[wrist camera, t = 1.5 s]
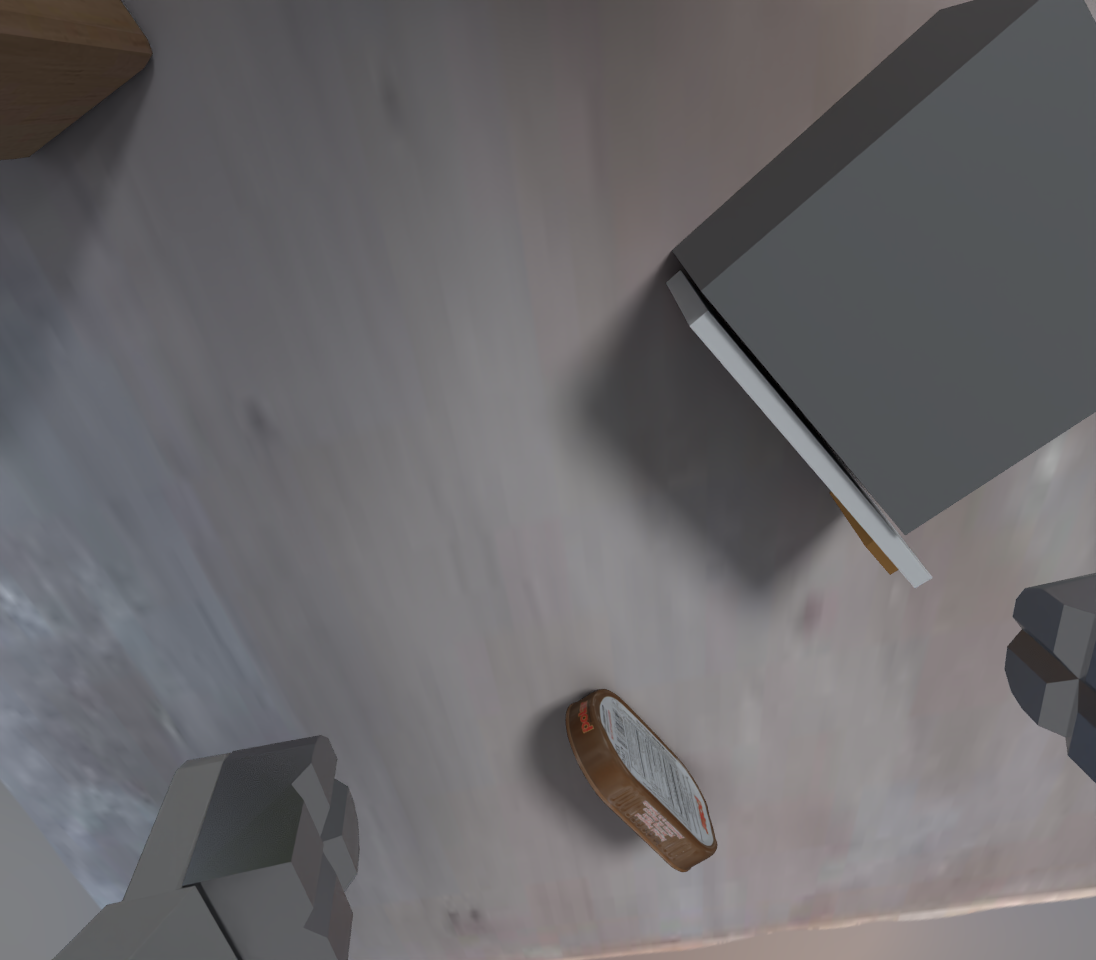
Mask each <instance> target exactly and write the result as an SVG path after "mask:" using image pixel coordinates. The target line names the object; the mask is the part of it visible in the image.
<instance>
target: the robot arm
mask: <svg viewBox="0 0 1096 960" xmlns="http://www.w3.org/2000/svg"><path fill="white" fill-rule="evenodd" d="M1013 618H1014V619H1015V621H1016V622H1017V623H1018V624H1019V626H1020V627H1021V628H1022V630H1021V631H1020V632H1019V633H1018V635H1017V636H1016V637H1015V638H1014V639H1013V640H1012V642H1011V643H1010V644H1009V645H1008V646H1007V653H1006V661H1005V672H1006V676H1007V679H1008V683H1009V686H1010V689H1011V692H1012V694H1013V695H1014V697H1015V698H1016V700H1017V702H1018V703H1019V705H1020V706H1021V708H1022V709H1023V710H1024V711H1025V712H1026V713H1027V714H1028V716H1029V717H1030V718H1031V719H1032V720H1033V721H1034V722H1035V723H1036V724H1037V725H1038V726H1041V727H1043V728H1045V729H1048V730H1050V731H1052V732H1054V733H1057V734H1059V735H1061V736H1064V737H1065V738H1066V746H1067V754H1068V756H1069V757H1070V758H1071V759H1072V760H1073V761H1074V762H1075V763H1076V764H1077V765H1078V766H1079V767H1080V768H1081V769H1082V770H1083V771H1084V772H1085V773H1086V774H1087V775H1088V776H1089V777H1090V778H1091V779H1092V780H1093V781H1094V782H1095V783H1096V573H1093V574H1088V575H1084V576H1079V577H1075V578H1070V579H1065V580H1061V581H1056V582H1052V583H1047V584H1042V585H1038V586H1033V587H1029V588H1025V589H1024V590H1023V591H1022V592H1021V594H1020V595H1019V596H1018V597H1017V599H1016V602H1015V607H1014V612H1013ZM336 764H337V757H336V755H335V752H334V750H333V748H332V745H331V743H330V741H329V739H328V738H327V737H325V736H322V735H319V736H313V737H308V738H302V739H297V740H291V741H286V742H281V743H275V744H270V745H264V746H259V747H253V748H248V749H242V750H237V751H233V752H232V753H227V754H221V755H216V756H210V757H204V758H199V759H193V760H187V761H186V762H185V763H184V764H183V765H182V766H181V767H180V768H179V769H178V770H177V771H176V772H175V774H174V777H173V779H172V781H171V784H170V786H169V789H168V791H167V794H166V796H165V798H164V801H163V803H162V806H161V808H160V811H159V813H158V815H157V818H156V820H155V823H154V825H153V828H152V830H151V833H150V835H149V837H148V840H147V842H146V845H145V847H144V850H143V852H142V854H141V857H140V859H139V862H138V864H137V867H136V869H135V871H134V874H133V876H132V879H131V881H130V884H129V886H128V888H127V891H126V893H125V896H124V898H123V901H121V902H117V903H113V904H109V905H106V906H105V907H104V908H103V909H102V910H101V911H100V913H98V914H97V915H96V916H95V917H94V918H93V919H92V920H91V922H89V923H88V924H87V925H86V927H84V928H83V929H82V930H81V932H79V933H78V934H77V935H76V936H75V937H74V938H73V939H72V940H71V941H70V942H69V943H68V944H67V945H66V946H65V947H64V948H63V949H62V950H61V951H60V952H59V953H58V954H57V955H56V956H55V957H54V958H53V959H52V960H348V953H349V945H350V936H351V927H352V918H353V912H352V910H351V908H350V905H349V903H348V900H347V898H346V896H345V893H344V892H345V890H346V889H347V888H348V886H349V885H350V884H351V882H352V881H353V880H354V878H355V877H356V875H357V872H358V862H359V851H360V848H359V829H358V819H357V814H356V810H355V805H354V801H353V798H352V796H351V793H350V790H349V788H348V786H346V785H344V784H343V783H341V782H339V781H338V780H336V779H334V777H335V771H336Z"/></svg>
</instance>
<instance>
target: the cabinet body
mask: <svg viewBox="0 0 1096 960" xmlns="http://www.w3.org/2000/svg"><path fill="white" fill-rule="evenodd" d="M672 251H673V253H674V254H675V255H676V257H677V258H678V260H679V261H680V262H681V264H682V265H683V267H684V268H685V269H686V271H687V272H688V274H689V275H690V276H691V278H692V279H693V281H694V282H695V283H696V285H697V286H698V288H699V289H700V290H701V292H702V293H703V294H704V295H705V296H706V298H707V299H708V300H709V301H710V302H711V304H712V305H713V306H714V307H715V308H716V310H717V311H718V312H719V313H720V314H721V316H722V317H723V318H724V319H725V320H726V322H727V323H728V324H729V325H730V326H731V328H732V329H733V330H734V331H735V332H736V334H737V335H738V336H739V337H740V338H741V340H742V341H743V342H744V343H745V344H746V346H747V347H748V348H749V349H750V350H751V351H752V353H753V354H754V355H755V356H756V357H757V359H758V360H759V361H760V362H761V363H762V365H763V366H764V367H765V368H766V369H767V371H768V372H769V373H770V374H771V375H772V377H773V378H774V379H775V380H776V381H777V383H778V384H779V385H780V386H781V387H782V389H783V390H784V391H785V392H786V393H787V395H788V396H789V397H790V398H791V399H792V401H793V402H794V403H795V404H796V405H797V407H798V408H799V409H800V410H801V411H802V413H803V414H804V415H805V416H806V417H807V419H808V420H809V421H810V422H811V423H812V424H813V426H814V427H815V428H816V429H817V430H818V432H819V433H820V434H821V435H822V436H823V438H824V439H825V440H826V441H827V442H828V444H829V445H830V446H831V447H832V448H833V450H834V451H835V452H836V453H837V454H838V456H839V457H840V458H841V459H842V460H843V462H844V463H845V464H846V465H847V466H848V468H849V469H850V470H851V471H852V472H853V474H854V475H855V476H856V477H857V478H858V480H859V481H860V482H861V483H862V484H863V486H864V487H865V488H866V489H867V490H868V492H869V493H870V494H871V495H872V496H873V497H874V499H875V500H876V501H877V502H878V503H879V505H880V506H881V507H882V508H883V509H884V511H885V512H886V513H887V514H888V515H889V517H890V518H891V519H892V520H893V521H894V523H895V524H896V525H897V526H898V527H899V529H900V530H901V531H902V532H903V533H904V535H906V534H908V533H909V532H911V531H913V530H914V529H916V528H917V527H919V526H920V525H922V524H923V523H925V522H926V521H928V520H930V519H931V518H933V517H934V516H936V515H937V514H939V513H940V512H942V511H943V510H945V509H946V508H948V507H950V506H951V505H953V504H954V503H956V502H957V501H959V500H960V499H962V498H963V497H965V496H967V495H968V494H970V493H971V492H973V491H974V490H976V489H977V488H979V487H980V486H982V485H983V484H985V483H987V482H988V481H990V480H991V479H993V478H994V477H996V476H997V475H999V474H1000V473H1002V472H1004V471H1005V470H1007V469H1008V468H1010V467H1011V466H1013V465H1014V464H1016V463H1017V462H1019V461H1020V460H1022V459H1024V458H1025V457H1027V456H1028V455H1030V454H1031V453H1033V452H1034V451H1036V450H1037V449H1039V448H1041V447H1042V446H1044V445H1045V444H1047V443H1048V442H1050V441H1051V440H1053V439H1054V438H1056V437H1057V436H1059V435H1061V434H1062V433H1064V432H1065V431H1067V430H1068V429H1070V428H1071V427H1073V426H1074V425H1076V424H1078V423H1079V422H1081V421H1082V420H1084V419H1085V418H1087V417H1088V416H1090V415H1091V414H1093V413H1094V412H1096V22H1095V20H1094V18H1093V17H1092V15H1091V13H1090V11H1089V9H1088V7H1087V5H1086V3H1085V1H1084V0H973V1H970V2H966V3H963V4H959V5H955V6H952V7H948V8H945V9H941V10H939V11H938V12H937V13H936V14H935V15H934V16H933V17H932V18H930V19H929V20H928V21H927V22H926V23H925V24H924V25H923V26H921V27H920V28H919V29H918V30H917V31H916V32H915V33H914V34H913V35H911V36H910V37H909V38H908V39H907V40H906V41H905V42H904V43H903V44H901V45H900V46H899V47H898V48H897V49H896V50H895V51H894V52H893V53H891V54H890V55H889V56H888V57H887V58H886V59H885V60H884V61H882V62H881V63H880V64H879V65H878V66H877V67H876V68H875V69H874V70H872V71H871V72H870V73H869V74H868V75H867V76H866V77H865V78H864V79H862V80H861V81H860V82H859V83H858V84H857V85H856V86H855V87H853V88H852V89H851V90H850V91H849V92H848V93H847V94H846V95H845V96H843V97H842V98H841V99H840V100H839V101H838V102H837V103H836V104H835V105H833V106H832V107H831V108H830V109H829V110H828V111H827V112H826V113H825V114H823V115H822V116H821V117H820V118H819V119H818V120H817V121H816V122H814V123H813V124H812V125H811V126H810V127H809V128H808V129H807V130H806V131H804V132H803V133H802V134H801V135H800V136H799V137H798V138H797V139H796V140H794V141H793V142H792V143H791V144H790V145H789V146H788V147H787V148H785V149H784V150H783V151H782V152H781V153H780V154H779V155H778V156H777V157H775V158H774V159H773V160H772V161H771V162H770V163H769V164H768V165H767V166H765V167H764V168H763V169H762V170H761V171H760V172H759V173H758V174H757V175H755V176H754V177H753V178H752V179H751V180H750V181H749V182H748V183H746V184H745V185H744V186H743V187H742V188H741V189H740V190H739V191H738V192H736V193H735V194H734V195H733V196H732V197H731V198H730V199H729V200H728V201H726V202H725V203H724V204H723V205H722V206H721V207H720V208H719V209H717V210H716V211H715V212H714V213H713V214H712V215H711V216H710V217H709V218H707V219H706V220H705V221H704V222H703V223H702V224H701V225H700V226H699V227H697V228H696V229H695V230H694V231H693V232H692V233H691V234H690V235H689V236H687V237H686V238H685V239H684V240H683V241H682V242H681V243H680V244H678V245H677V246H676V247H675V248H674V249H673V250H672Z"/></svg>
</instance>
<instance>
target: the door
mask: <svg viewBox="0 0 1096 960" xmlns="http://www.w3.org/2000/svg"><path fill="white" fill-rule="evenodd" d="M666 284H667V286H668V288H669V289H670V291H671V293H672V295H673V297H674V299H675V300H676V302H677V304H678V306H679V308H680V310H681V311H682V313H683V315H684V317H685V319H686V321H687V322H688V324H689V326H690V327H691V328H692V330H693V331H694V332H695V333H696V334H697V335H698V337H699V338H700V339H701V340H702V341H703V342H704V344H705V345H706V346H707V347H708V348H709V349H710V351H711V352H712V353H713V354H714V355H715V356H716V358H717V359H718V360H719V361H720V362H721V363H722V365H723V366H724V367H725V368H726V369H727V370H728V371H729V373H730V374H731V375H732V376H733V377H734V378H735V380H736V381H737V382H738V383H739V384H740V385H741V387H742V388H743V389H744V390H745V391H746V392H747V394H748V395H749V396H750V397H751V398H752V399H753V401H754V402H755V403H756V404H757V405H758V406H759V408H760V409H761V410H762V411H763V412H764V413H765V415H766V416H767V417H768V418H769V419H770V420H771V422H772V423H773V424H774V425H775V426H776V427H777V429H778V430H779V431H780V432H781V433H782V434H783V435H784V437H785V438H786V439H787V440H788V441H789V442H790V444H791V445H792V446H793V447H794V448H795V449H796V451H797V452H798V453H799V454H800V455H801V456H802V458H803V459H804V460H805V461H806V462H807V463H808V465H809V466H810V467H811V468H812V469H813V470H814V472H815V473H816V474H817V475H818V476H819V477H820V479H821V480H822V481H823V482H824V483H825V484H826V486H827V487H828V488H829V489H830V490H831V492H830V495H831V496H832V498H833V499H834V501H835V502H836V503H837V505H838V506H839V508H840V509H841V511H842V512H843V514H844V515H845V517H846V518H847V520H848V521H849V523H850V524H851V526H852V527H853V529H854V530H855V532H856V533H857V535H858V536H859V538H860V539H861V541H862V542H863V544H864V545H865V546H866V548H867V549H868V550H869V551H870V552H871V553H872V555H873V556H874V557H875V558H876V559H877V560H878V561H879V563H880V564H881V565H882V566H883V567H884V568H885V570H886V571H887V572H888V573H889V574H890V575H891V574H892V573H894V572H895V571H897V570H900V572H901V573H902V574H903V575H904V576H905V577H906V579H907V580H908V581H909V582H910V583H911V584H912V586H913V587H914V588H917V587H918V586H920V585H921V584H923V583H925V582H926V581H928V580H930V579H931V578H933V577H932V576H931V575H930V574H929V572H928V571H927V570H926V568H925V567H924V566H923V565H922V563H921V562H920V561H919V559H918V558H917V557H916V555H915V554H914V553H913V552H912V550H911V549H910V548H909V546H908V545H907V544H906V543H905V541H904V540H903V539H902V537H901V536H900V535H899V533H898V532H897V531H896V530H895V528H894V527H893V526H892V524H891V523H890V522H889V521H888V519H887V518H886V517H885V515H884V514H883V513H882V511H881V510H880V509H879V508H878V506H877V505H876V504H875V502H874V501H873V500H872V499H871V497H870V496H869V495H868V493H867V492H866V491H865V490H864V489H863V487H862V486H861V485H860V484H859V483H858V482H857V480H856V479H855V478H854V477H853V476H852V474H851V473H850V472H849V471H848V470H847V468H846V467H845V466H844V465H843V464H842V462H841V461H840V460H839V459H838V458H837V456H836V455H835V454H834V453H833V452H832V450H831V449H830V448H829V447H828V446H827V444H826V443H825V442H824V441H823V440H822V439H821V437H820V436H819V435H818V434H817V433H816V431H815V430H814V429H813V428H812V427H811V425H810V424H809V423H808V422H807V421H806V419H805V418H804V417H803V416H802V415H801V413H800V412H799V411H798V410H797V409H796V407H795V406H794V405H793V404H792V403H791V401H790V400H789V399H788V398H787V397H786V396H785V394H784V393H783V392H782V391H781V390H780V388H779V387H778V386H777V385H776V384H775V382H774V381H773V380H772V379H771V378H770V376H769V375H768V374H767V373H766V372H765V370H764V369H763V368H762V367H761V366H760V364H759V363H758V362H757V361H756V360H755V358H754V357H753V356H752V355H751V354H750V353H749V351H748V350H747V349H746V348H745V347H744V345H743V344H742V343H741V342H740V341H739V339H738V338H737V337H736V336H735V335H734V333H733V332H732V331H731V330H730V329H729V327H728V326H727V325H726V324H725V323H724V321H723V320H722V319H721V318H720V317H719V315H718V314H717V313H716V312H715V311H714V310H713V308H712V307H711V306H710V305H709V304H708V302H707V301H706V300H705V299H704V298H703V296H702V295H701V294H700V293H699V292H698V290H697V289H696V288H695V287H694V286H693V284H692V283H691V282H690V281H689V280H688V278H687V277H686V276H685V275H684V274H683V273H682V271H681V270H680V271H679V272H677V273H676V274H675V275H674V276H673V277H672V278H671V279H670V280H668V281H667V282H666Z"/></svg>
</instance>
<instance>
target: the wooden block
mask: <svg viewBox="0 0 1096 960" xmlns="http://www.w3.org/2000/svg"><path fill="white" fill-rule="evenodd" d="M152 54H153V53H152V50H151V47H150V45H149V42H148V40H147V38H146V37H145V35H144V34H143V32H142V31H141V29H140V28H139V26H138V25H137V24H136V22H135V21H134V19H133V18H132V16H131V15H130V13H129V12H128V11H127V9H126V8H125V6H124V5H123V3H122V2H121V0H0V160H8V159H18V158H25V157H30V156H31V155H32V154H34V153H35V152H36V151H37V150H39V149H40V148H41V147H43V146H44V145H45V144H46V143H48V142H49V141H50V140H52V139H53V138H54V137H56V136H57V135H58V134H59V133H61V132H62V131H63V130H65V129H66V128H67V127H68V126H70V125H71V124H72V123H74V122H75V121H76V120H78V119H79V118H80V117H81V116H83V115H84V114H85V113H87V112H88V111H89V110H90V109H92V108H93V107H94V106H96V105H97V104H98V103H100V102H101V101H102V100H103V99H105V98H106V97H107V96H109V95H110V94H111V93H112V92H114V91H115V90H116V89H118V88H119V87H120V86H122V85H123V84H124V83H125V82H127V81H128V80H129V79H131V78H132V77H133V76H134V75H136V74H137V73H138V72H140V71H141V70H142V69H144V67H145V66H146V64H147V63H148V61H149V59H150V57H151V56H152Z"/></svg>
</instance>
